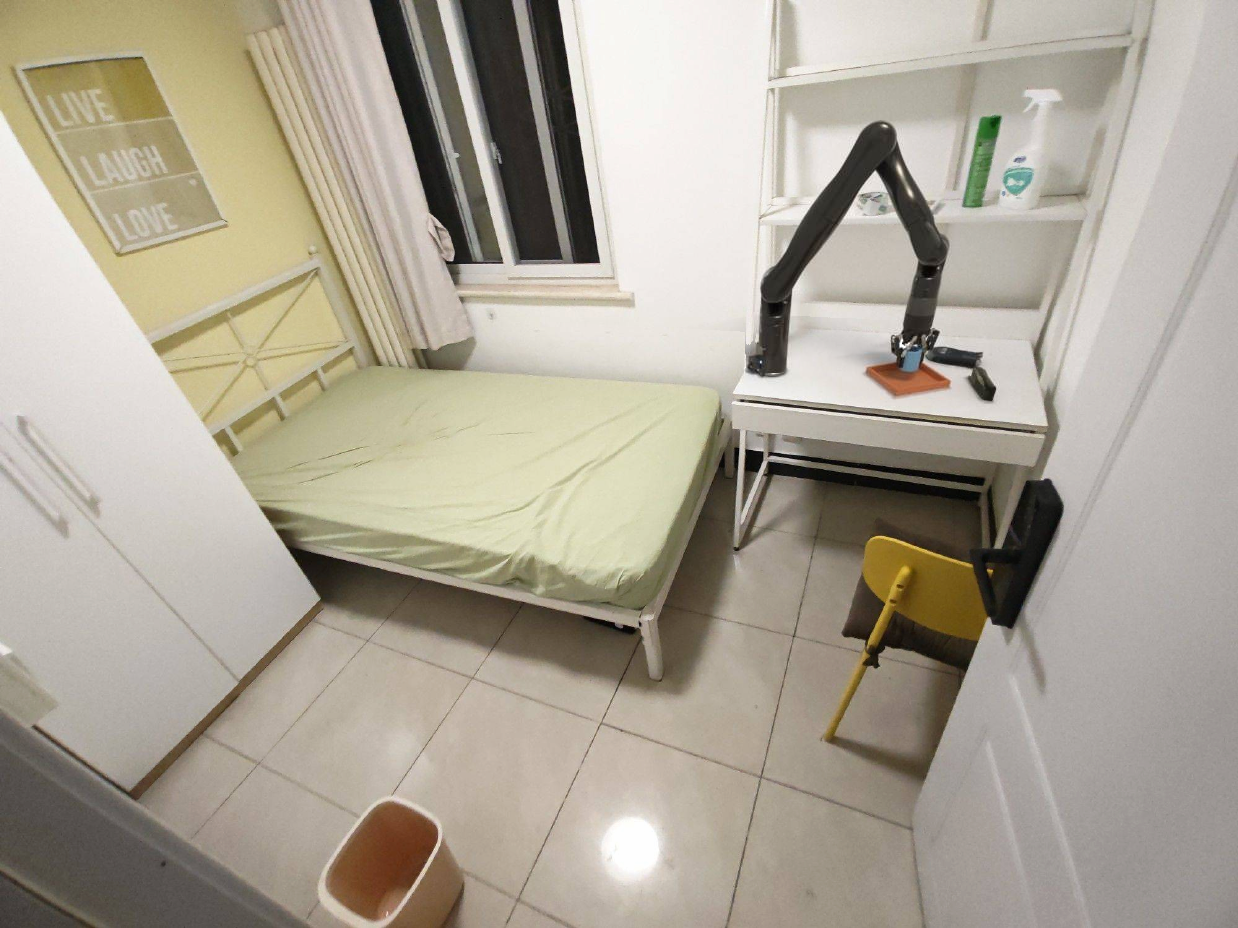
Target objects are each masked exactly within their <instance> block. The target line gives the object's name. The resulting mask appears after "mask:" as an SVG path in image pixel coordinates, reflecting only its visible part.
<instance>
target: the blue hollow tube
mask: <svg viewBox="0 0 1238 928" xmlns="http://www.w3.org/2000/svg"><path fill="white" fill-rule="evenodd" d="M902 351H903V350H902ZM921 354H922V349H921V348H920V347H917V345H913V346H911V348H910V350H908V351H907V353H906V354H905V356H904V357H905V360H904V365H903V368H899V369H900V370H902V371H906V372H913V371H916V370H918V367H919V363H920V358H921Z"/></svg>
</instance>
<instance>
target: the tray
mask: <svg viewBox="0 0 1238 928" xmlns="http://www.w3.org/2000/svg"><path fill="white" fill-rule="evenodd" d="M865 374H867V376H869V377H871V378H872V379H873V380H874V381H875V382H877V383H878V384H879V385H881V386H882V387H883V388H885V390H886V391H888V392H889V393H891V394H892V395H893V396H894V397H901V396H906V395H914V394H917V393H923V392H924V393H925V392H930V391H936V390H940V389H946V388H950V385H951V382H952V380H951V379H949V378H947V377H946V376H945V375H943V374H942V373H940V372H938V371H937V370H935V369H933V368H932V367H931V366H930V365H928V364H926V363H924V361H923V362H922V364H921V365H919V367H918V370H916V371H913V372H906V371H902V370H900V369H899V367H897V365H896V361H894V362H893V361H892V362H887V363H880V364H876V365H871V366H866V370H865Z"/></svg>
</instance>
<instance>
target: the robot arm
mask: <svg viewBox="0 0 1238 928" xmlns="http://www.w3.org/2000/svg"><path fill="white" fill-rule="evenodd" d="M904 159H905V158H904V157H903V154H902V152H901V148H900V145H899V141H898V134H897V129H896V127H895V126H894V125H893V123H891V122H890V121H887V120H885V119H884V120H883V119H882V120H881V119H879V120H875V121H872V122H870V123H869V124H867V125H866V126H865V127H863V129H862V130H861V131H860V133H859V134H858V136H857V138H856V140H855V141H854V144H853V146H852V148H851V150H850V151H849V153H848V154H847V157H846V159H845V160H844V162H843V164H842V165H841V167H840V168H839V170H838V171H837V172H836V174H835V175H834V176H833V178H832V179H831V180H830V181H829V182H828V184H827V185H825V187H824V188H823V189H822V191H821V192H820V193H819V195H818V196H817V197H816V198H815V200H814V201H813V203H812V204H811V205H810V207H809V208H808V209H807V211H806V212H805V214H804V216H803V217H802V219H801V220H800V222H799V224H798V226H797V228H796V230H795V231H794V234H793V236H792V238H791V239H790V241H789V244H788V246H787V248H786V250H785V252H784V253H783V255H782V256H781V258H780V259H779V260H778V261H777V263H776V264H775V265H772V266H770V267H769V268H767V269H766V270H765V271H764V273H763V274H762V277H761V281H760V284H759V292H760V307H759V318H758V319H759V321H758V341H757V342H756V343H755V354H753V355H748V361H747V362H748V363H747V365H746V368H747V370H748V371H750V372H754V371H756V372H757V373H758V374H759V375H760V377H779V376H782V375H784V374H786V372H787V367H788V364H787V363H788V351H789V350H788V349H789V339H790V338H789V337H790V324H791V312H792V300H793V298H792V297H793V289H794V288H795V285H796V284H797V282H798V280H799V279H800V277H801V275H802V274H803V272H804V271H805V269H806V268H807V266H808V265H809V264H810V262H811V261H812V260H813V259H814V258H815V257H816V255H817V254H819V252H820V250H821V249H822V248H823V247H824V246H825V245H826V243H827V242H828V241H829V239H830V238H831V236H832V235H833V234H834V233H835V231H836V230H837V228H838V227H839V225H840V224H841V223H842V221H843V220H844V218H845V217H846V216H847V214H848V212H849V211H850V209H851V207H852V205H853V203H854V202H855V199H857V196H858V194H859V192H860V191H861V190H862V188H863V186H864V185H865V184H866V182H867V181H868V180H869V179H870V177H871V176H872V175H874V172H876V173H877V175H878V177H879V179H880V181H881V182H882V184H883V186H884V188H885V190H886V192H887V196H888V197H889V200H890V203H891V205H892V208H893V209H894V212H895V214H896V216H897V218H898V220H899V221H900V223H901V225H902V227H903V229H904V230H905V232H906V234H907V236H908V239H909V242H910V245H911V247H912V249H913V252H914V254H915V257H916V258H917V264H916V270H915V274H914V276H913V278H912V281H911V286H910V291H909V296H908V299H907V301H906V302H907V303H906V306H905V312H904V315H903V316H904V317H903V321H902V330H901V332H900V333H899V334H896V335H895V334H891V336H890V353H891V354H893V355H894V356H895V357H896V360H895V362H896V365H897V367H899V368H903V365H904V360H905V357H904V356H905V354H906V353H907V351H908V350H910V348H911V346H917V347H920V348H921V349H922V354H921V358H920V363H919V365H921V364H922V362H923V363H924V359H925V355H926V354H927V353H928V350H932V349H933V347H935V345H936V342H937V340H938V339H939V338H938V337H939V335H940V333H941V332H940V330H938V329H936V328H934V327H933V324H934V320H935V317H936V311H937V306H938V299H939V294H940V289H941V284H942V278H943V272H944V269H945V264H946V261H947V258H948V254H949V251H950V246H951V245H950V244H951V243H950V239H949V238H948V237H947V235H945V234H944V233H941V232H940V231H939V229H938V228H937V225H936V219H935V216H934V213H933V211H932V209H931V207H930V205H929V203H928V201H927V199H926V197H925V196H924V194H923V192H922V191H921V189H920V187H919V185H918V184H917V182H916V180H915V179H914V178H913V177H914V176H913V175H912V174H911V172H910V170H909V168H908V167H907V164H906V162H905V160H904ZM902 350H903V351H902Z"/></svg>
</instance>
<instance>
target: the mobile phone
mask: <svg viewBox="0 0 1238 928" xmlns="http://www.w3.org/2000/svg"><path fill="white" fill-rule="evenodd" d="M967 378H968V380H969V381H970V382H971V384H972V386H973V387H974V389H975V391H976V393H977V395H978V397H980V399H981V400H983V401H984V402H993V401H994V398H995V395H996V392H997V386H996V385H995V384H994V382H993V381H992V380H991V378H990V377H989V374H988V371H987V370H986V369H985V368H983V367H981V366H977V367H975V368H974V367H972V371H971V375H967Z"/></svg>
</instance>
